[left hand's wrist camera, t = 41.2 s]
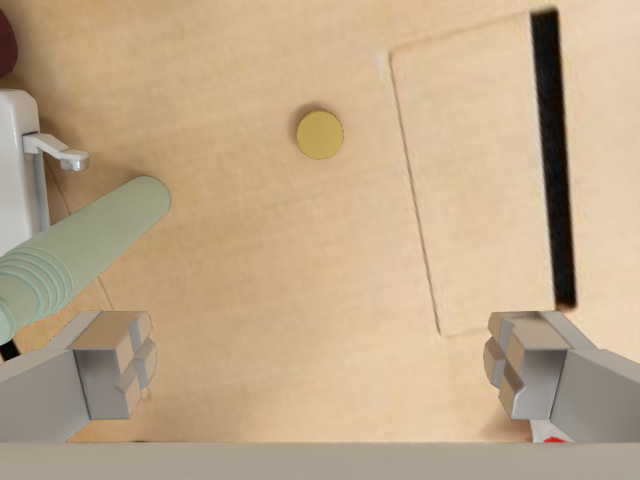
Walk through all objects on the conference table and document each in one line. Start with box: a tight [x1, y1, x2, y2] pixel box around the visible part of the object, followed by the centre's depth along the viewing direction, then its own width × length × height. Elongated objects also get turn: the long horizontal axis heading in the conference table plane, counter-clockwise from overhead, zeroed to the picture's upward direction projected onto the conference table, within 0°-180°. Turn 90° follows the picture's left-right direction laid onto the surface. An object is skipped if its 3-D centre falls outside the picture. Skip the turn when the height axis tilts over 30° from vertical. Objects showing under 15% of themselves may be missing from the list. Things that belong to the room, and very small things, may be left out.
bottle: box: [0, 176, 170, 345], centre depth 34 cm, size 5×5×24 cm
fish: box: [529, 420, 575, 442], centre depth 53 cm, size 11×16×10 cm
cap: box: [296, 110, 344, 159], centre depth 42 cm, size 4×4×2 cm
